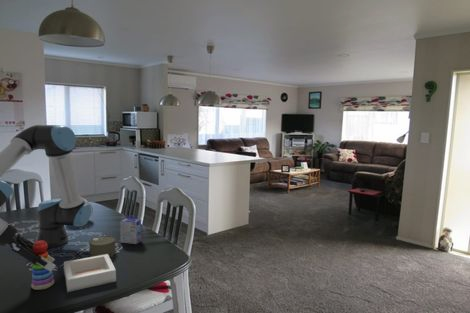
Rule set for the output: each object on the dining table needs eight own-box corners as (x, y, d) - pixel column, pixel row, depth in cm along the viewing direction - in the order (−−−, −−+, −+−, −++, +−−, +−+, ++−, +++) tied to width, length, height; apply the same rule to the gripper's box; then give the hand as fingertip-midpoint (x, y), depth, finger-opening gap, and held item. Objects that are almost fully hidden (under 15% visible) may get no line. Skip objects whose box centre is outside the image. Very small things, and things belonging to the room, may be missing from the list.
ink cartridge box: (141, 240, 181) (141, 215, 179) (136, 244, 175) (136, 218, 174) (125, 239, 183) (125, 213, 181) (120, 242, 177) (119, 216, 176)
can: (103, 260, 155) (103, 246, 155) (84, 256, 160) (83, 242, 159) (120, 251, 167) (120, 238, 166) (101, 247, 171) (101, 234, 170)
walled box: (64, 273, 142) (63, 261, 141) (108, 264, 151) (107, 253, 151) (67, 292, 127) (67, 279, 126) (116, 281, 136) (115, 269, 135)
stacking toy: (37, 281, 135) (35, 237, 133) (57, 280, 135) (56, 236, 133) (27, 290, 127) (24, 244, 125) (48, 290, 127) (46, 244, 125)
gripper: (-5, 232, 129) (44, 263, 139) (-12, 249, 113) (45, 283, 123) (10, 217, 131) (58, 249, 141) (6, 231, 115) (61, 266, 125)
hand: (52, 265), depth 132 cm, fingers closed on stacking toy, 6 cm apart
